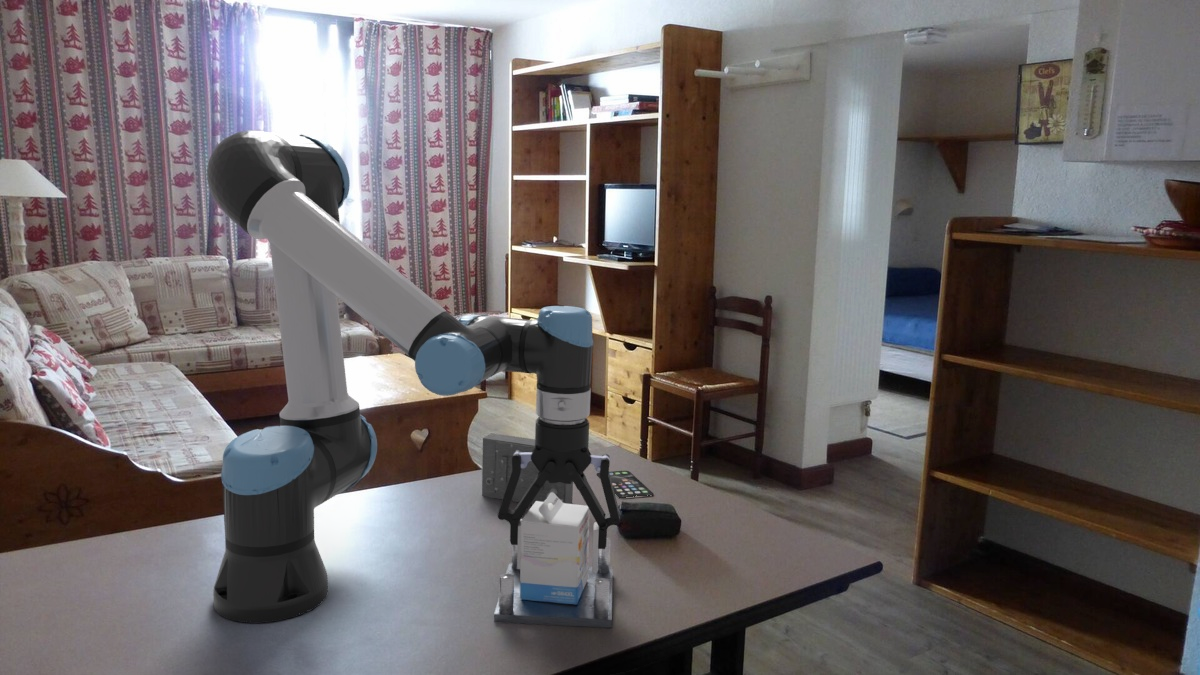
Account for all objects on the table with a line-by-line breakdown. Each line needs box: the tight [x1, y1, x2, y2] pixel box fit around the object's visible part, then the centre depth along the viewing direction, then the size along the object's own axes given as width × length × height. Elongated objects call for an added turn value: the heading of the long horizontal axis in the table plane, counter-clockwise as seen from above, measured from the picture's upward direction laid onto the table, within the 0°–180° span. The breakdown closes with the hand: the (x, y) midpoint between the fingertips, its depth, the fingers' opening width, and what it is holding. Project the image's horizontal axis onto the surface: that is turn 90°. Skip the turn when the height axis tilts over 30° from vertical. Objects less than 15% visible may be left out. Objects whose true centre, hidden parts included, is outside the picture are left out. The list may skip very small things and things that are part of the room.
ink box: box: [520, 492, 591, 604], centre depth 124 cm, size 9×8×13 cm
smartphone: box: [596, 470, 655, 499], centre depth 173 cm, size 7×1×15 cm
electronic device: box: [481, 432, 574, 506], centre depth 160 cm, size 17×7×20 cm, turn 70°
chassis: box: [493, 536, 614, 629], centre depth 125 cm, size 16×16×6 cm
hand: (557, 566), depth 124 cm, fingers open, 10 cm apart
